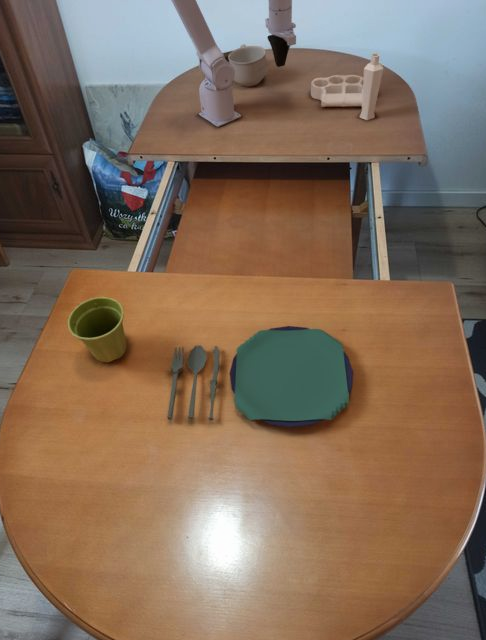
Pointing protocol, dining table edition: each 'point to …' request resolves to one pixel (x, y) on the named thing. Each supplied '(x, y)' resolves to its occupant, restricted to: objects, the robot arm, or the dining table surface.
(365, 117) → the perfume bottle
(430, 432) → the dining table surface
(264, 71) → the teacup
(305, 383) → the cutlery set
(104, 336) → the plant pot
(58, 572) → the dining table surface
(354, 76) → the white multi-hole holder
